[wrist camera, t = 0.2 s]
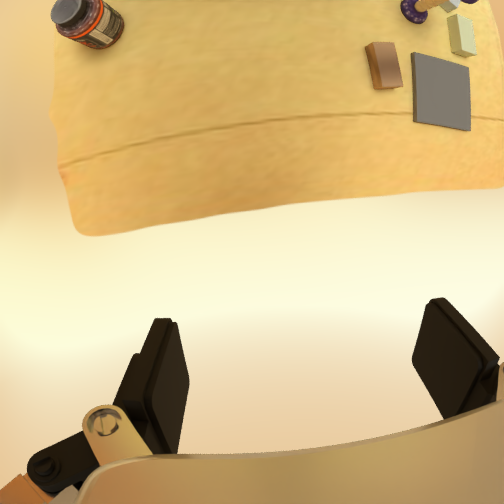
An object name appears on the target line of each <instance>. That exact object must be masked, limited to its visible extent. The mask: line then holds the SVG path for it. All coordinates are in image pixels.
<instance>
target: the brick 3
mask: <svg viewBox="0 0 504 504" xmlns="http://www.w3.org/2000/svg"><path fill="white" fill-rule="evenodd" d="M447 21H448V28H449V35H450V43H451V52H452V53H455V54H458V55H461V56H464V57H470V56H475V55H477V52H476V44H475V36H474V30H473V23H472V20H471V19H468V18H466V17H463V16H461V15H458V14H456V15H453V16H451V17H449V18H447Z"/></svg>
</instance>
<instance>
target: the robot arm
mask: <svg viewBox="0 0 504 504" xmlns="http://www.w3.org/2000/svg"><path fill="white" fill-rule="evenodd" d="M499 358H500V357H499V356H498V355H497V354H496V353H495V351H494V350H493V349H492V348H491V347H490V346H489V344H488V343H487V342H486V341H485V340H484V339H483V338H482V337H481V336H480V334H479V333H478V332H477V331H476V330H475V329H474V328H473V327H472V326H471V324H470V323H469V322H468V321H467V320H466V319H465V318H464V317H463V316H462V315H461V314H460V313H459V312H458V311H457V310H456V309H455V308H454V307H453V305H451V303H450V302H448V300H446V299H445V298H436V299H431V300H430V301H429V303H428V304H427V305H426V307H425V311H424V315H423V319H422V323H421V327H420V331H419V334H418V338H417V342H416V345H415V348H414V352H413V355H412V363H413V366H414V368H415V369H416V371H417V373H418V374H419V376H420V378H421V380H422V381H423V383H424V385H425V386H426V388H427V390H428V392H429V393H430V395H431V397H432V399H433V400H434V402H435V404H436V406H437V408H438V410H439V411H440V413H441V415H442V417H443V419H444V420H441V421H438V422H435V423H431V424H428V425H424V426H421V427H417V428H414V429H410V430H406V431H402V432H398V433H394V434H390V435H385V436H381V437H376V438H372V439H366V440H362V441H356V442H351V443H345V444H338V445H332V446H325V447H318V448H310V449H301V450H292V451H279V452H266V453H243V454H177V452H178V445H179V439H180V434H181V429H182V423H183V416H184V412H185V406H186V401H187V395H188V390H189V375H188V370H187V366H186V362H185V357H184V353H183V349H182V344H181V339H180V334H179V329H178V325H177V323H176V322H172V320H171V318H155V319H154V321H153V324H152V326H151V328H150V331H149V333H148V335H147V338H146V340H145V342H144V345H143V347H142V350H141V352H140V354H139V353H135V354H134V355H133V356H132V358H131V361H130V363H129V365H128V368H127V370H126V372H125V375H124V377H123V380H122V382H121V385H120V387H119V389H118V392H117V395H116V397H115V399H114V402H113V405H101V406H97V407H95V408H93V409H92V410H90V411H89V412H88V413H87V414H86V415H85V417H84V419H83V423H82V427H83V431H81V432H79V433H77V434H75V435H73V436H71V437H69V438H67V439H65V440H62V441H60V442H58V443H56V444H54V445H52V446H50V447H47V448H45V449H43V450H41V451H39V452H37V453H36V454H34V455H33V456H32V457H31V458H30V460H29V462H28V464H27V473H26V474H25V475H24V476H22V475H21V474H19V475H18V476H17V477H15V478H14V479H13V480H12V481H11V482H9V483H8V484H7V485H6V486H5V487H3V488H2V489H1V490H0V504H504V362H503V363H502V364H501V365H500V366H499V365H498V361H499Z"/></svg>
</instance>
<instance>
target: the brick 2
mask: <svg viewBox="0 0 504 504" xmlns="http://www.w3.org/2000/svg"><path fill="white" fill-rule="evenodd" d="M460 1H461V0H449V1H445V2H444V3H443V4H439V5H440V6H441V7H442V8H443V9H444V10H445V11H447V12H449V11H452V10H454V9H456V8H458V6H459V4H460Z"/></svg>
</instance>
